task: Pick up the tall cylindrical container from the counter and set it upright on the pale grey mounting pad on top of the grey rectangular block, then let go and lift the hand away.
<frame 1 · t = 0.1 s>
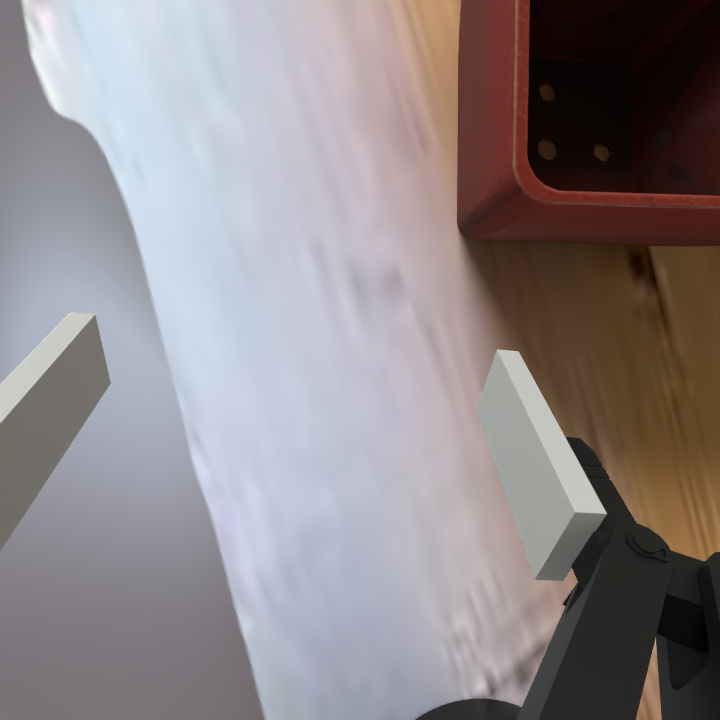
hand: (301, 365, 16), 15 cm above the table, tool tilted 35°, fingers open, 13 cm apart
plant pot: (545, 155, 33), on the table
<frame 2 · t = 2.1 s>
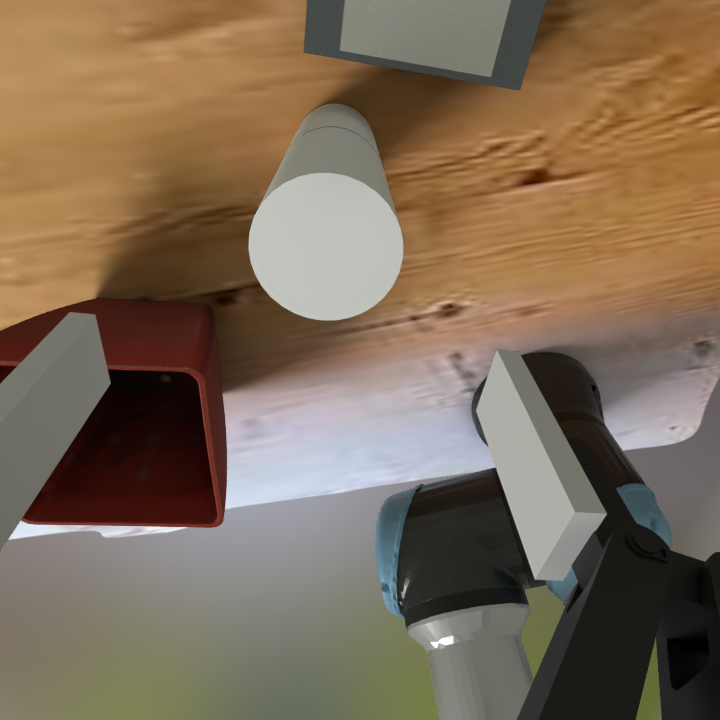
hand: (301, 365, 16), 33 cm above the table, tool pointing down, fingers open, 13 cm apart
plant pot: (163, 348, 54), on the table
cylindrical container: (335, 147, 43), on the table
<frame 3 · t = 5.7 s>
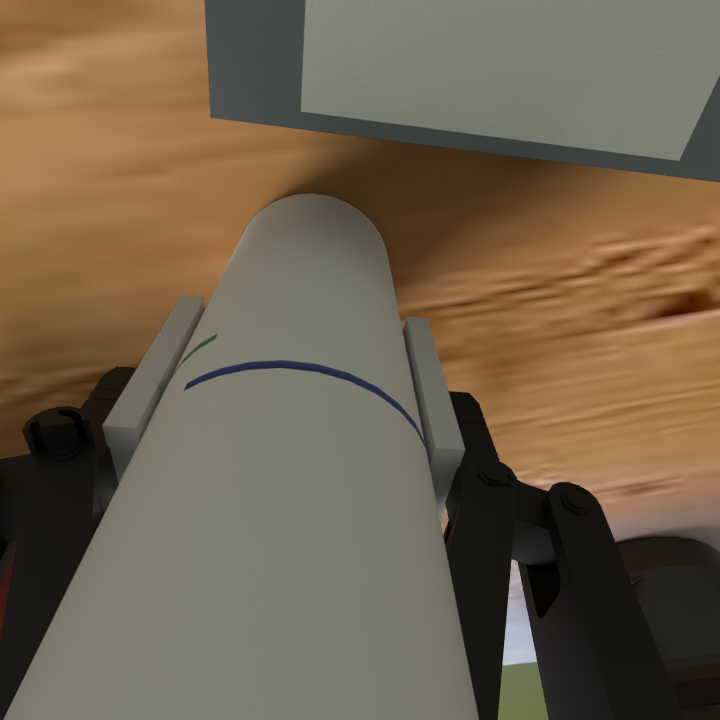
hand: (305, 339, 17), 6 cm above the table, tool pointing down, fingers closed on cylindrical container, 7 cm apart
plant pot: (59, 549, 35), on the table
cylindrical container: (313, 268, 22), on the table, touching gripper
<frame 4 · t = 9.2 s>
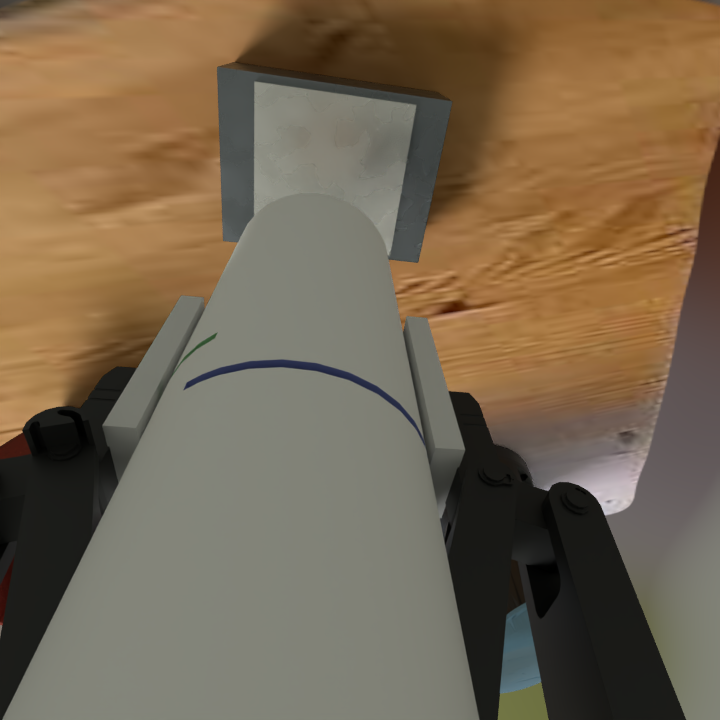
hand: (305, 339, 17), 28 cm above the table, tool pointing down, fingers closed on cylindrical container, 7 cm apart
plant pot: (127, 447, 59), on the table
grey rectangular block: (331, 158, 40), on the table
cylindrical container: (313, 268, 22), point 22 cm above the table, touching gripper
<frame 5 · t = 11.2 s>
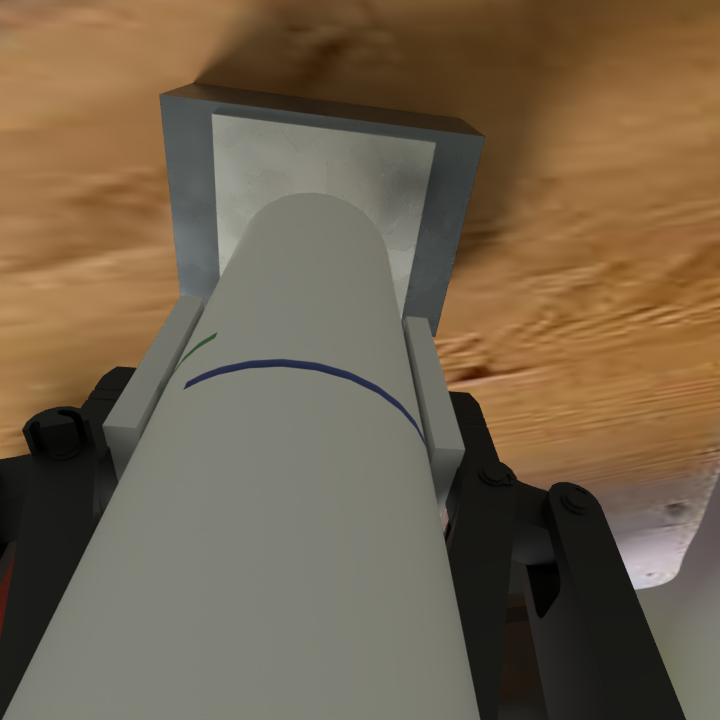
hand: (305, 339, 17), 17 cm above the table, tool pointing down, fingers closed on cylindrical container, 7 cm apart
plant pot: (90, 526, 51), on the table
grey rectangular block: (322, 202, 32), on the table
cylindrical container: (313, 268, 22), point 11 cm above the table, touching gripper
when the fingers open (14 cm above the table, at t = 12.8 s): cylindrical container drops 1 cm, resting on grey rectangular block.
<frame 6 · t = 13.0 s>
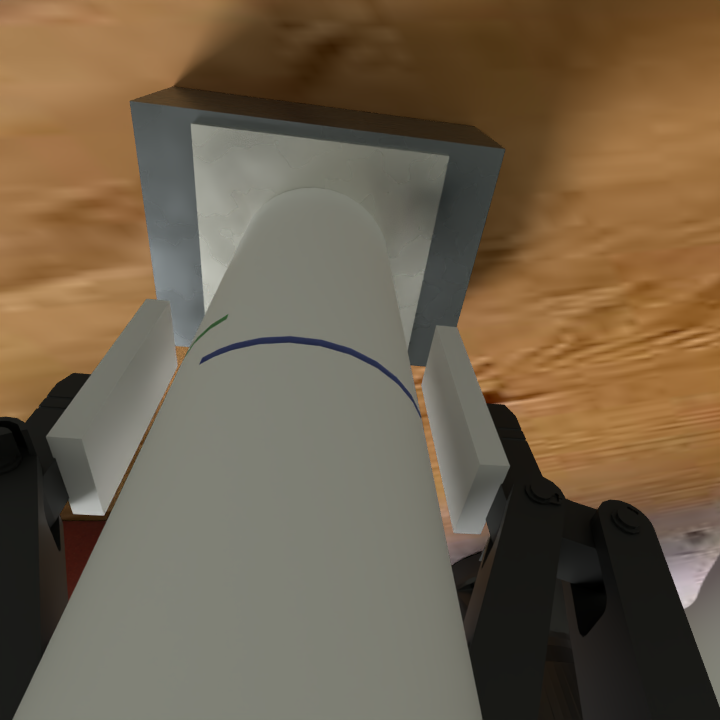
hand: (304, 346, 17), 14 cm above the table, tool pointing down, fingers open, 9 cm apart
plant pot: (74, 555, 48), on the table
grey rectangular block: (319, 218, 28), on the table
cylindrical container: (315, 260, 23), point 6 cm above the table, touching grey rectangular block
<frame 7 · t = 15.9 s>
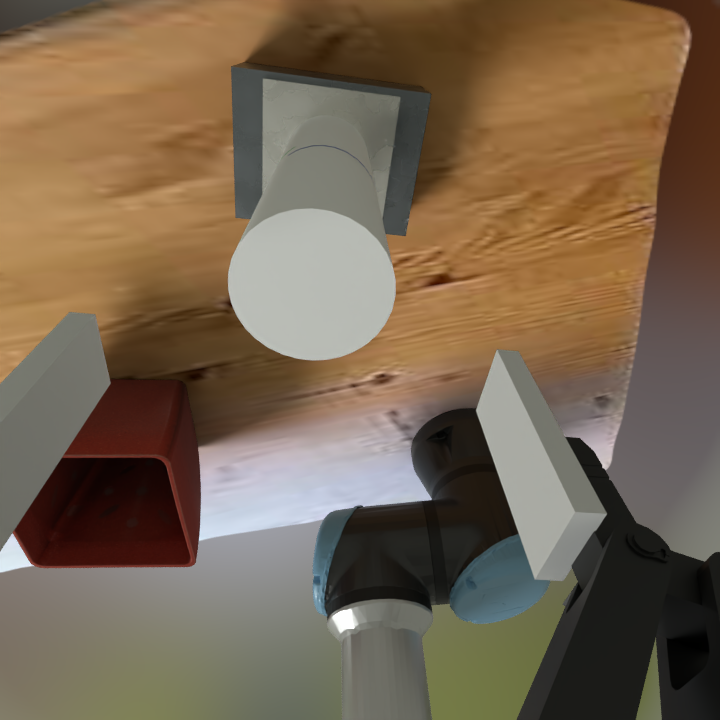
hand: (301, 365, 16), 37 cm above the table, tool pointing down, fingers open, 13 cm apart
plant pot: (147, 413, 65), on the table
grey rectangular block: (328, 145, 46), on the table
cylindrical container: (327, 160, 41), point 6 cm above the table, touching grey rectangular block
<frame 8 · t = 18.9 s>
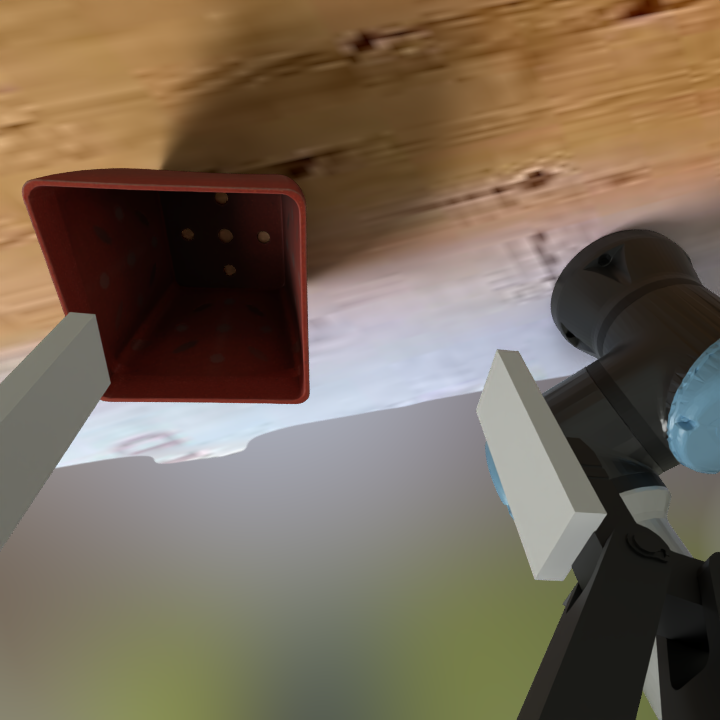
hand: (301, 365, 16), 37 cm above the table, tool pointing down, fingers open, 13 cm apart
plant pot: (228, 233, 51), on the table
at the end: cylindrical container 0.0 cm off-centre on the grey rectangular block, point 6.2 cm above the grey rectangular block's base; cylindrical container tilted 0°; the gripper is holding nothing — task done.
